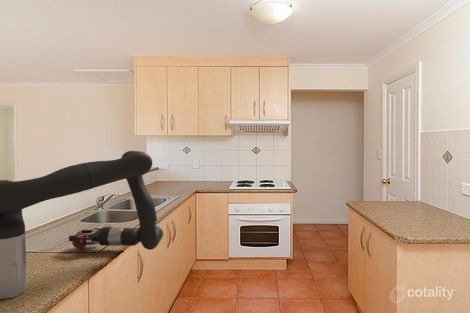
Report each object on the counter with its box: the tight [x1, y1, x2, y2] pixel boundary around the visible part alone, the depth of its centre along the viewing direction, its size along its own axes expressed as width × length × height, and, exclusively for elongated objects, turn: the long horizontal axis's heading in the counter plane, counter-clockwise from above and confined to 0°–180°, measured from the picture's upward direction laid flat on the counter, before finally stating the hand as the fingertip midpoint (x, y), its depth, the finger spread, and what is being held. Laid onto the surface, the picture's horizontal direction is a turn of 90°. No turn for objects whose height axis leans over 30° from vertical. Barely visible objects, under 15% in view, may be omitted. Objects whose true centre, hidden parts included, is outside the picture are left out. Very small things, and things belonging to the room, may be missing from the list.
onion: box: [71, 230, 88, 251], centre depth 133 cm, size 6×6×8 cm
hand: (75, 235), depth 133 cm, fingers open, 8 cm apart
